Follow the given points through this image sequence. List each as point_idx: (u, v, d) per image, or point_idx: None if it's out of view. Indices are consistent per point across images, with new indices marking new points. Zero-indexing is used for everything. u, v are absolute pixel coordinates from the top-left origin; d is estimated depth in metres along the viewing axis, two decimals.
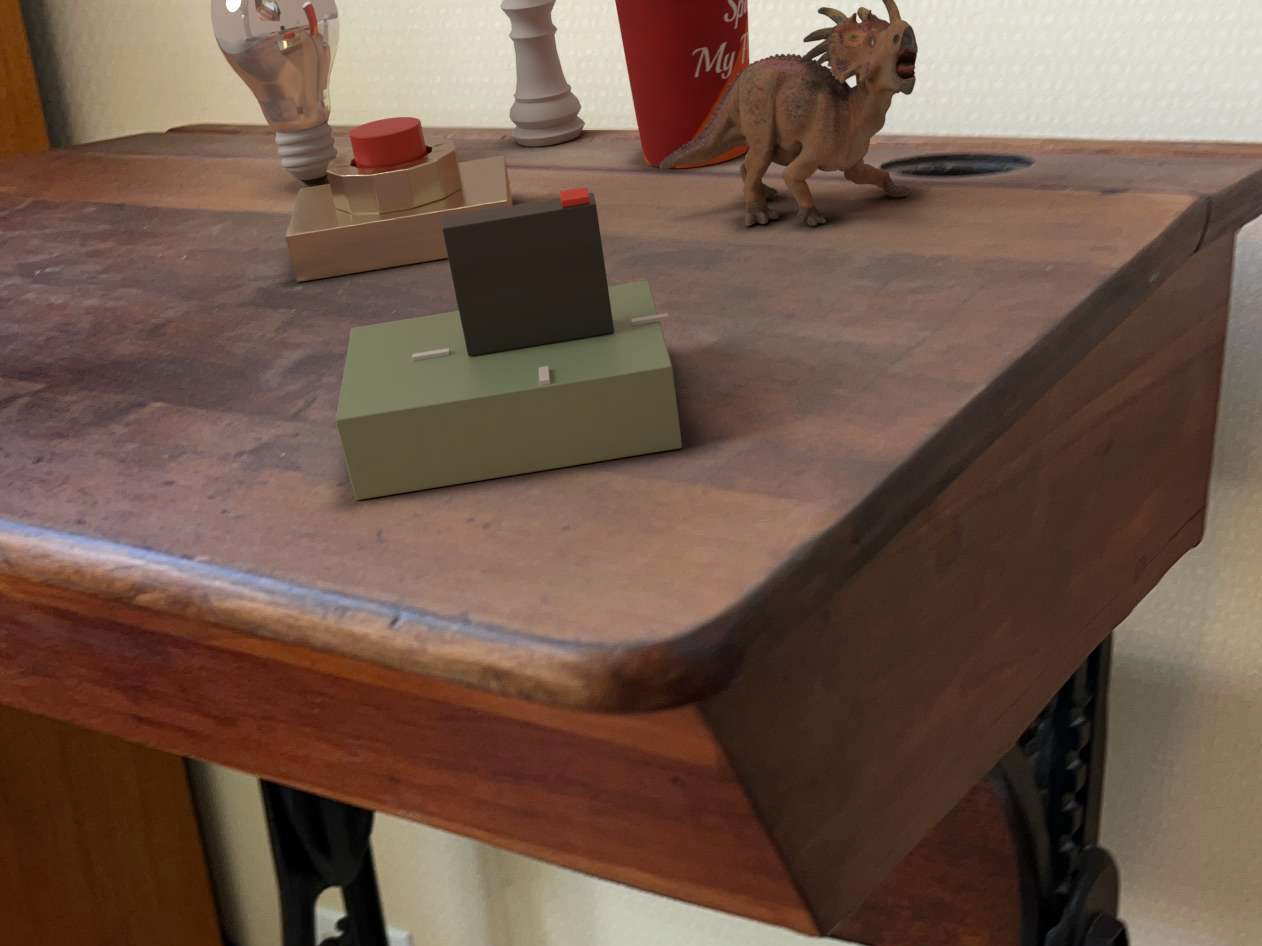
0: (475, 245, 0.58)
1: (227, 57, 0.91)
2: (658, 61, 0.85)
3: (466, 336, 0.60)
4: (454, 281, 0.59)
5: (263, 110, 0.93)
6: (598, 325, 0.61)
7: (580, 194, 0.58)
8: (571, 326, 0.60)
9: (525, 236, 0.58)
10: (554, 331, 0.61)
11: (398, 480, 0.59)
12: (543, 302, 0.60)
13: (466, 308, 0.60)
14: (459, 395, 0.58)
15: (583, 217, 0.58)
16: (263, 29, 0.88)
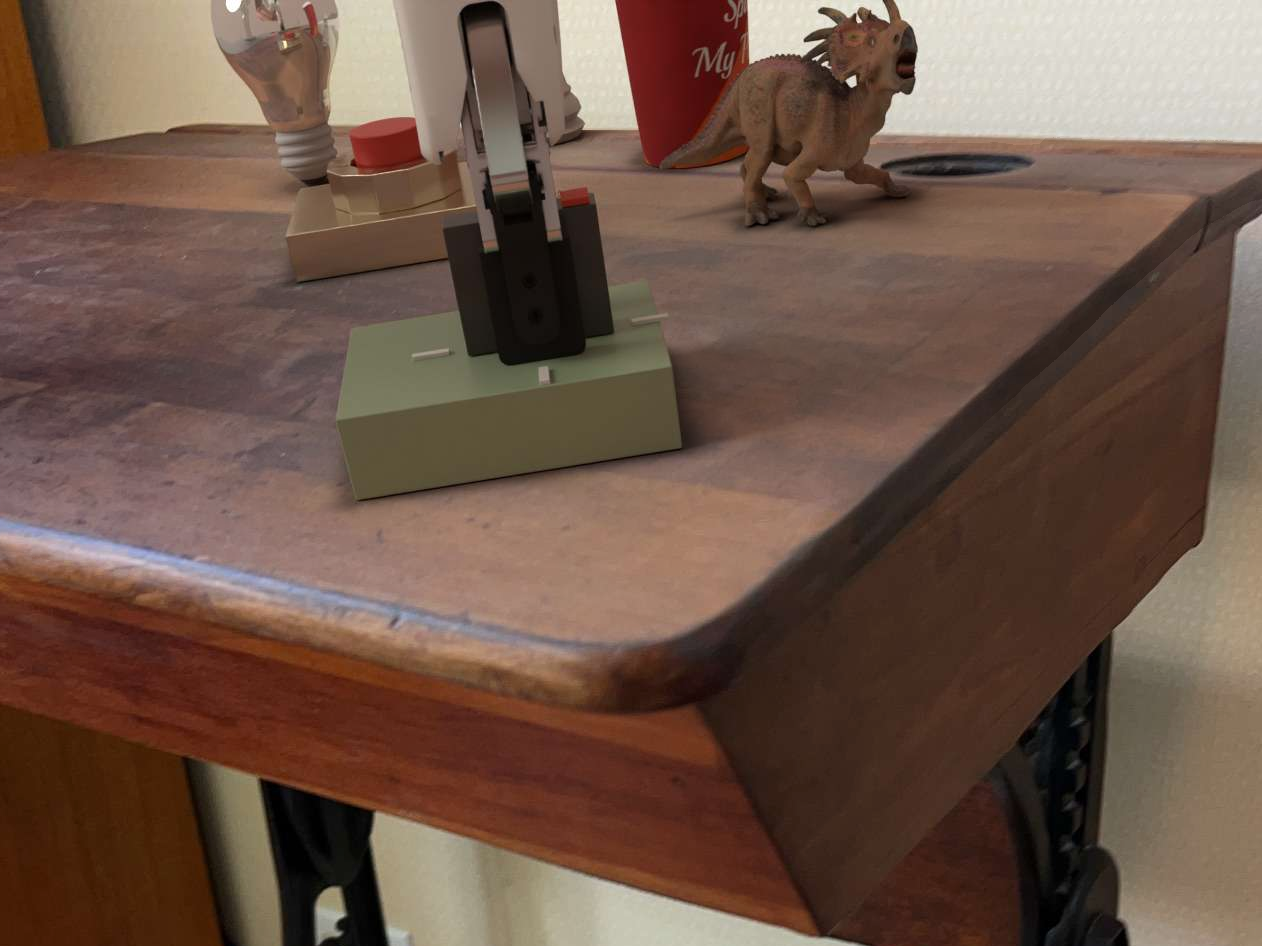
0: (475, 245, 0.58)
1: (227, 57, 0.91)
2: (658, 61, 0.85)
3: (466, 336, 0.60)
4: (454, 281, 0.59)
5: (263, 110, 0.93)
6: (598, 325, 0.61)
7: (580, 194, 0.58)
8: None
9: None
10: None
11: (398, 480, 0.59)
12: None
13: (466, 308, 0.60)
14: (459, 395, 0.58)
15: (583, 217, 0.58)
16: (263, 29, 0.88)
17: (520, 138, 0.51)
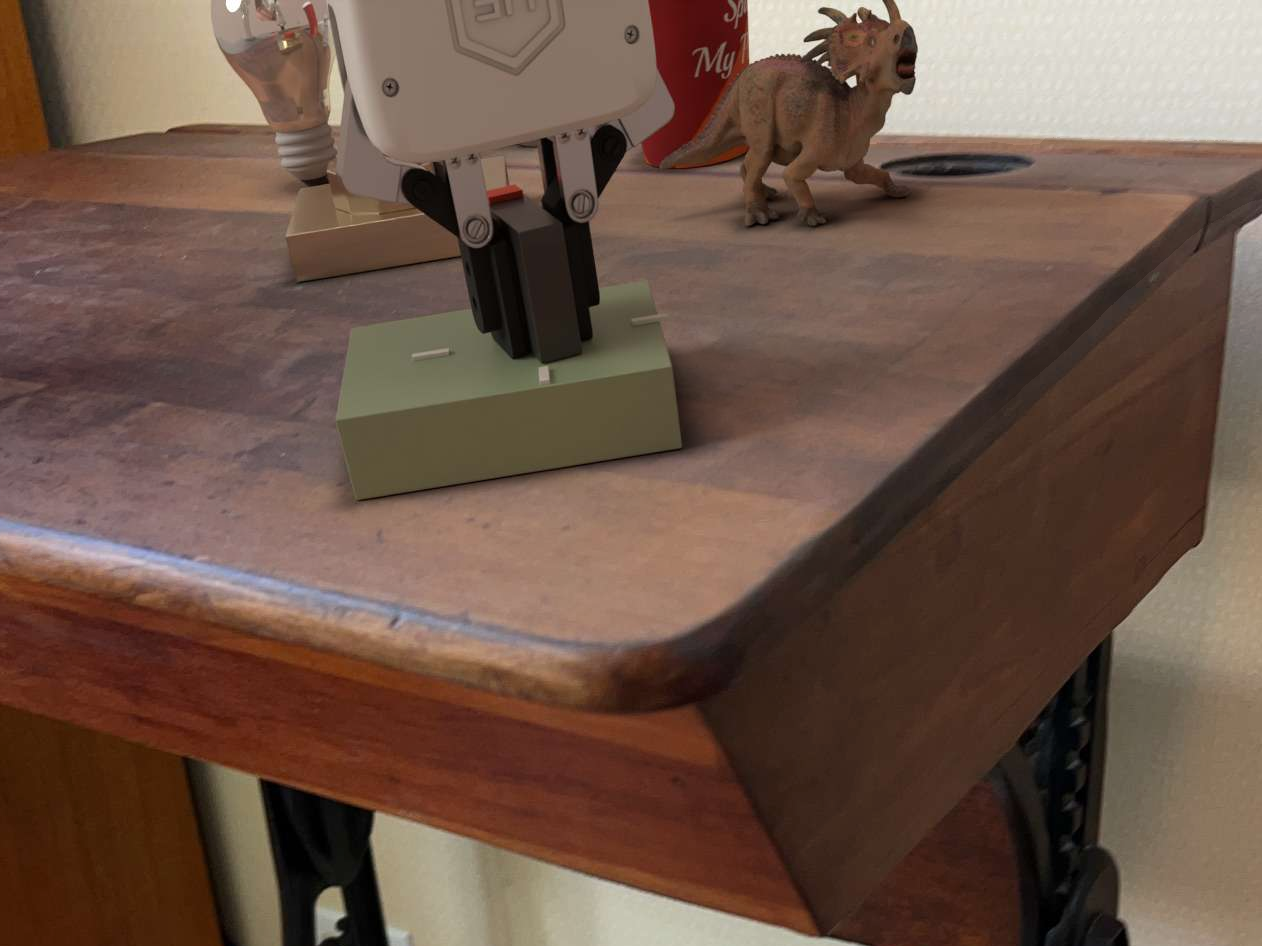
0: None
1: (227, 57, 0.91)
2: (658, 61, 0.85)
3: None
4: (570, 276, 0.58)
5: (263, 110, 0.93)
6: None
7: (503, 189, 0.60)
8: None
9: None
10: None
11: (398, 480, 0.59)
12: None
13: (573, 303, 0.59)
14: (459, 395, 0.58)
15: None
16: (263, 29, 0.88)
17: None
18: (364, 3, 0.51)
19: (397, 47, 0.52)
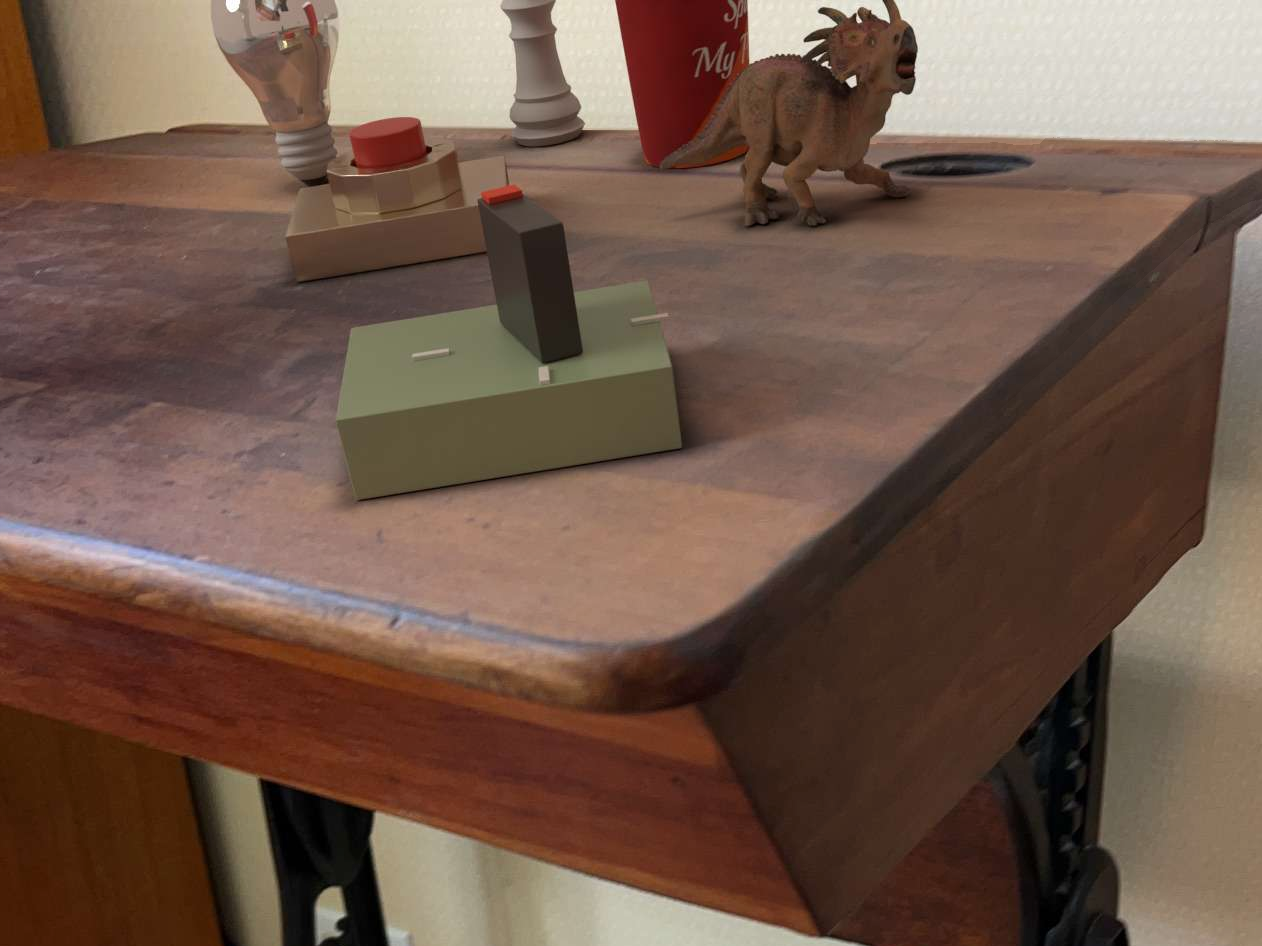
0: None
1: (227, 57, 0.91)
2: (658, 61, 0.85)
3: (579, 332, 0.59)
4: (570, 276, 0.58)
5: (263, 110, 0.93)
6: None
7: (503, 189, 0.60)
8: None
9: None
10: None
11: (398, 480, 0.59)
12: None
13: (573, 303, 0.59)
14: (459, 395, 0.58)
15: None
16: (263, 29, 0.88)
17: None
18: None
19: None
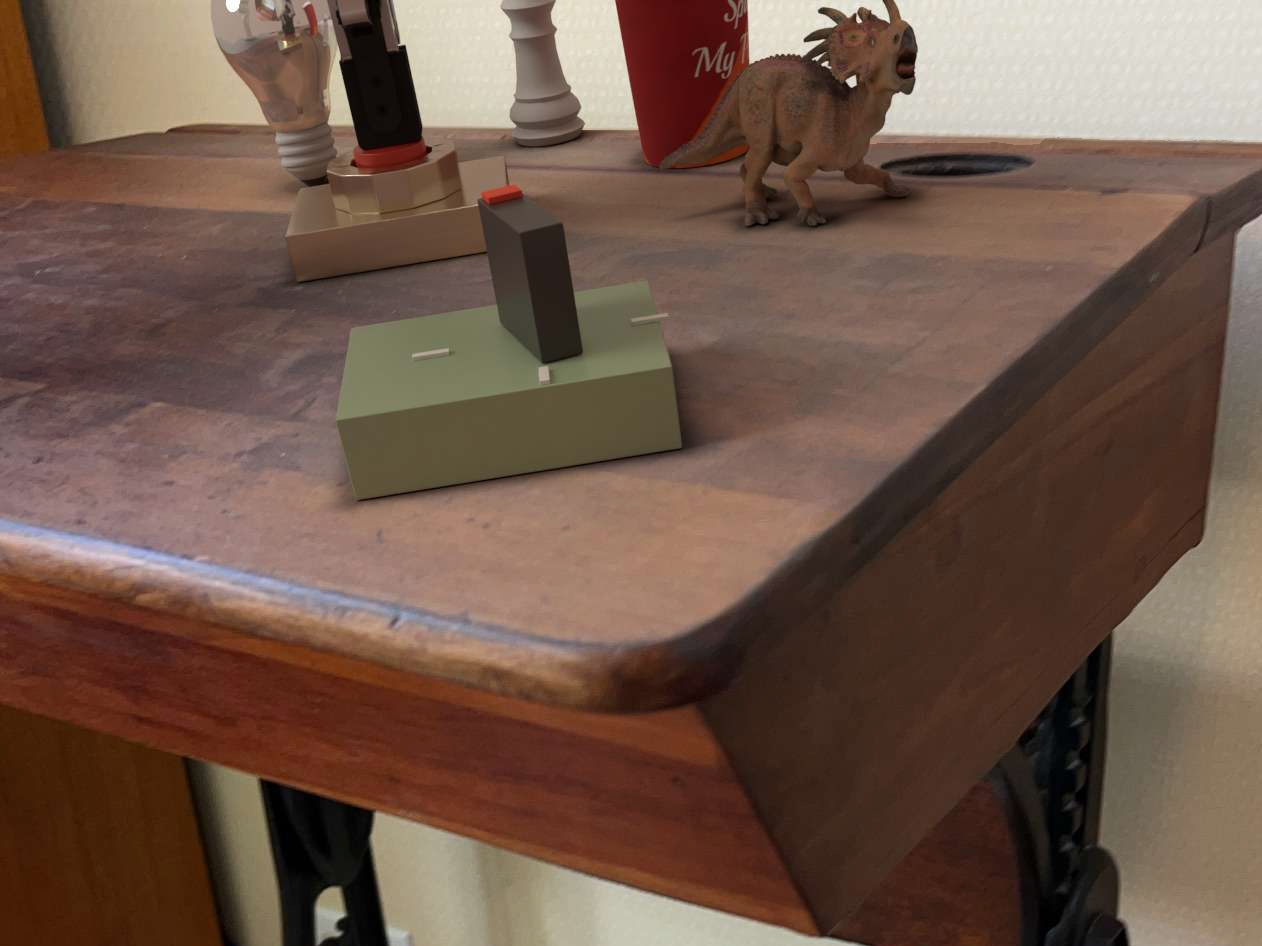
0: None
1: (227, 57, 0.91)
2: (658, 61, 0.85)
3: (579, 332, 0.59)
4: (570, 276, 0.58)
5: (263, 110, 0.93)
6: None
7: (503, 189, 0.60)
8: None
9: None
10: None
11: (398, 480, 0.59)
12: None
13: (573, 303, 0.59)
14: (459, 395, 0.58)
15: None
16: (263, 29, 0.88)
17: None
18: None
19: None
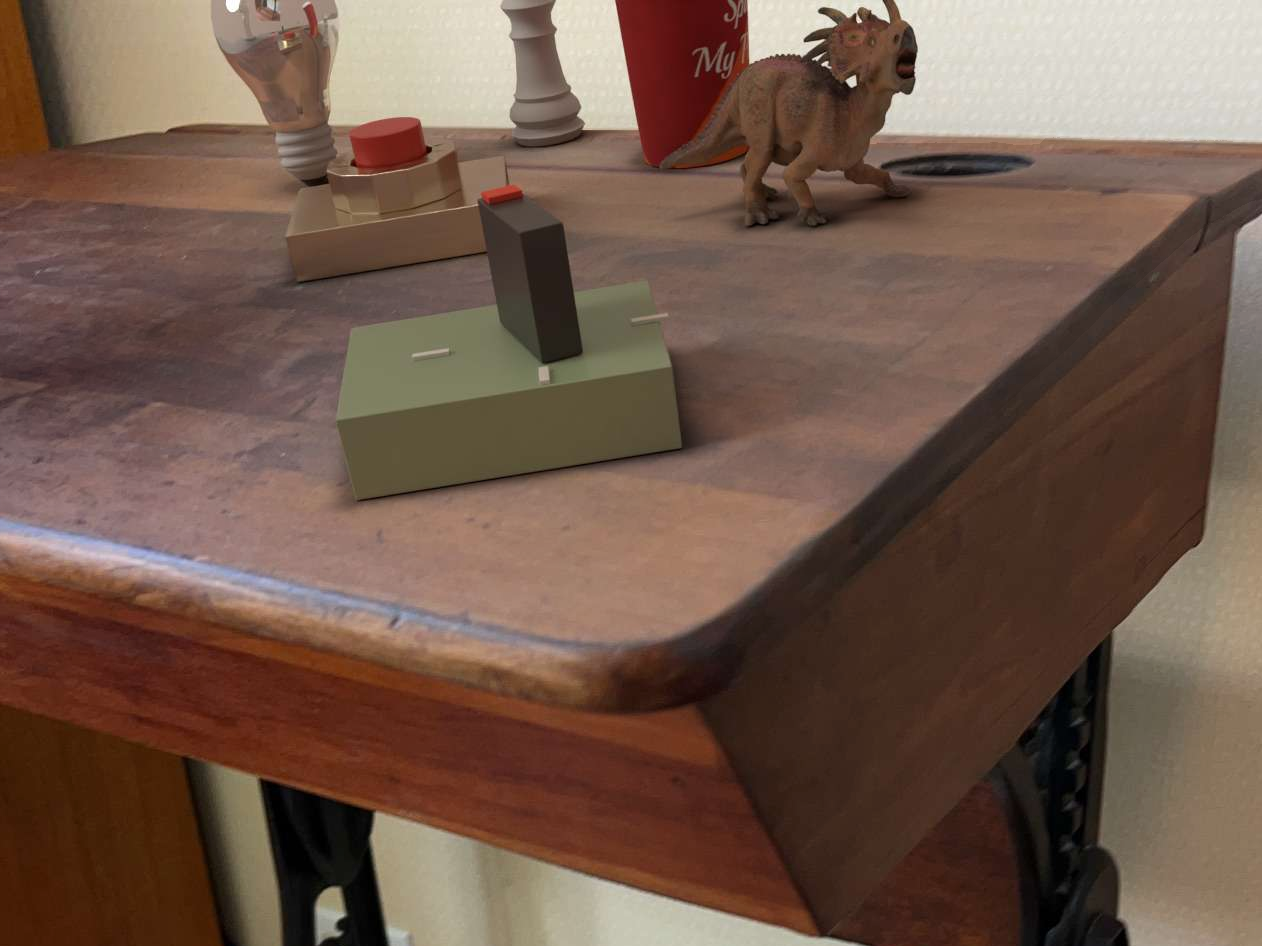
0: None
1: (227, 57, 0.91)
2: (658, 61, 0.85)
3: (579, 332, 0.59)
4: (570, 276, 0.58)
5: (263, 110, 0.93)
6: None
7: (503, 189, 0.60)
8: None
9: None
10: None
11: (398, 480, 0.59)
12: None
13: (573, 303, 0.59)
14: (459, 395, 0.58)
15: None
16: (263, 29, 0.88)
17: None
18: None
19: None
